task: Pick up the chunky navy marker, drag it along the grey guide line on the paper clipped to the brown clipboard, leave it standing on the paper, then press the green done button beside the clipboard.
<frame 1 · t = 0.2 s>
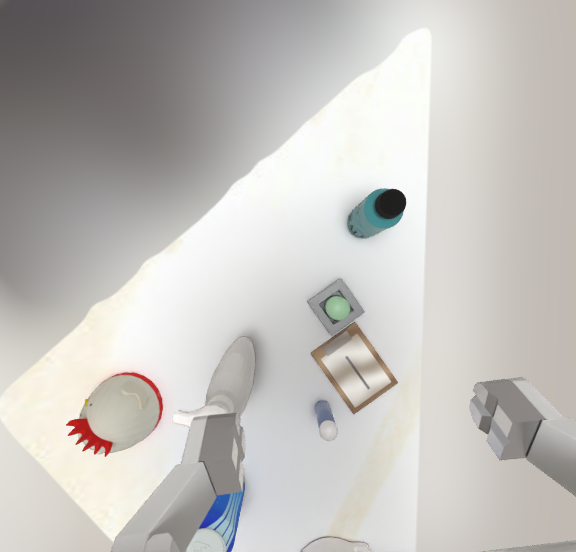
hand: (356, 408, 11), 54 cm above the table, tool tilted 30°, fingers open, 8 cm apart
done button: (336, 307, 62), point 3 cm above the table, slide at 0.0 cm
marker: (322, 407, 65), on the table
beer can: (225, 482, 65), on the table
button housing: (334, 306, 65), on the table
soap bottle: (238, 365, 65), on the table
beverage bottle: (360, 224, 65), on the table
clipboard: (353, 367, 65), on the table
kitchen timer: (129, 406, 65), on the table
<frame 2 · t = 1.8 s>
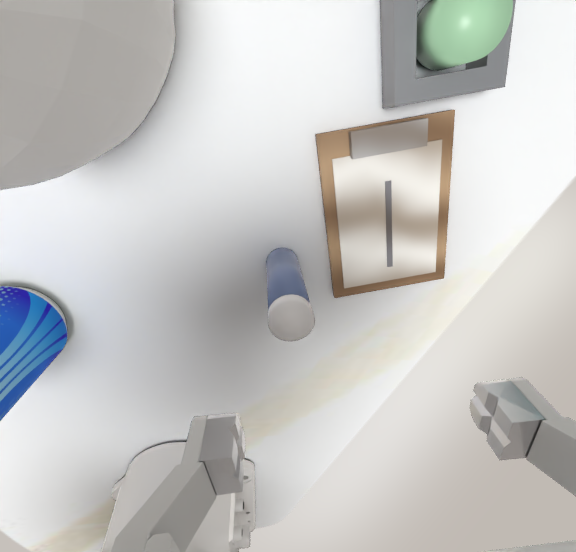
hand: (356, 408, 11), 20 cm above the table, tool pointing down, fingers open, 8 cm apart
done button: (458, 25, 20), point 3 cm above the table, slide at 0.0 cm
marker: (282, 262, 30), on the table
beer can: (28, 317, 31), on the table
button housing: (435, 37, 23), on the table
soap bottle: (118, 69, 23), on the table
clipboard: (385, 213, 29), on the table
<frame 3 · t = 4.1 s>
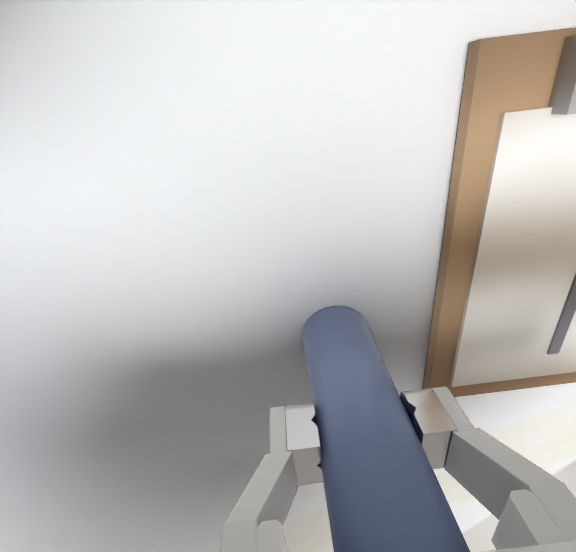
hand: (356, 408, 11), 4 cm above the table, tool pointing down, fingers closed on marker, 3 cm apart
marker: (334, 333, 15), on the table, touching gripper
clipboard: (571, 247, 13), on the table
when the fingers open (5 cm above the table, at t = 9.2 s): marker stays where it is, resting on clipboard.
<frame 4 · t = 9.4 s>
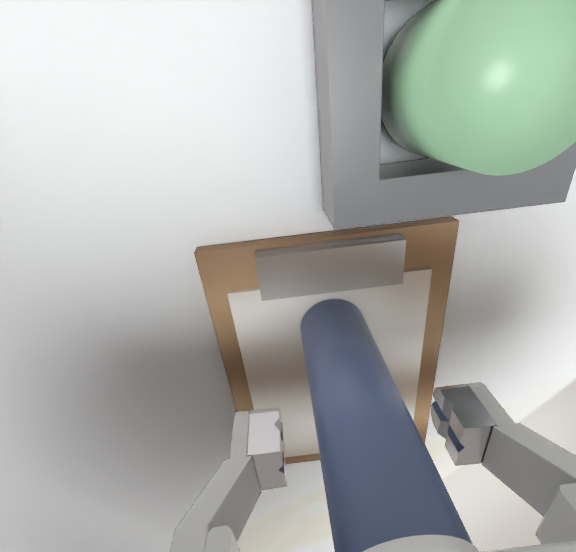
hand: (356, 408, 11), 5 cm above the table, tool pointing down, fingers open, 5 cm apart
done button: (480, 78, 9), point 3 cm above the table, slide at 0.0 cm
marker: (332, 326, 15), point 1 cm above the table, touching clipboard
button housing: (429, 85, 11), on the table
clipboard: (331, 362, 17), on the table
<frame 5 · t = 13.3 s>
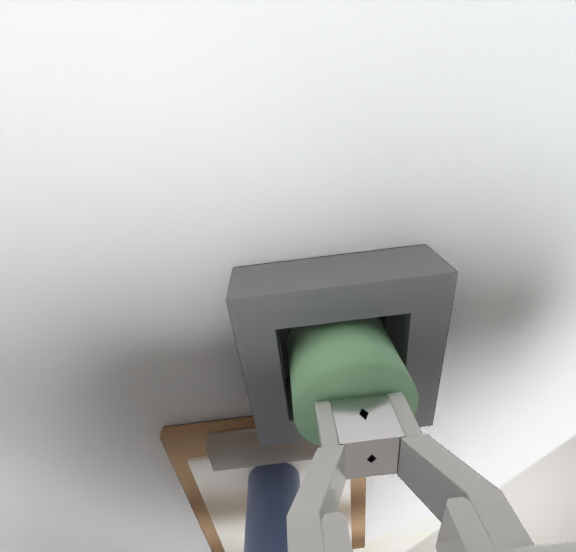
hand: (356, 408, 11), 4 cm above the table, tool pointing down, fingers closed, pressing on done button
done button: (344, 372, 13), point 3 cm above the table, slide at 0.5 cm, touching gripper
marker: (273, 478, 19), point 1 cm above the table, touching clipboard
button housing: (333, 333, 15), on the table
clipboard: (279, 491, 21), on the table
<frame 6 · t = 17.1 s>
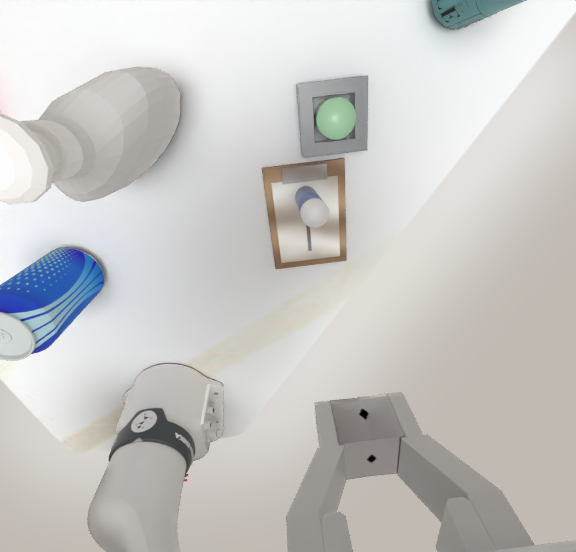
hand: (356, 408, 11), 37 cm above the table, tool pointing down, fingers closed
done button: (334, 118, 38), point 2 cm above the table, slide at 0.8 cm
marker: (305, 197, 44), point 1 cm above the table, touching clipboard
beer can: (79, 269, 48), on the table
button housing: (330, 118, 40), on the table
soap bottle: (147, 126, 40), on the table
clipboard: (306, 216, 46), on the table
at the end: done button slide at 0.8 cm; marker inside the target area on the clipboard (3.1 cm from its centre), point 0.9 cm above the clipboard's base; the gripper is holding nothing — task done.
